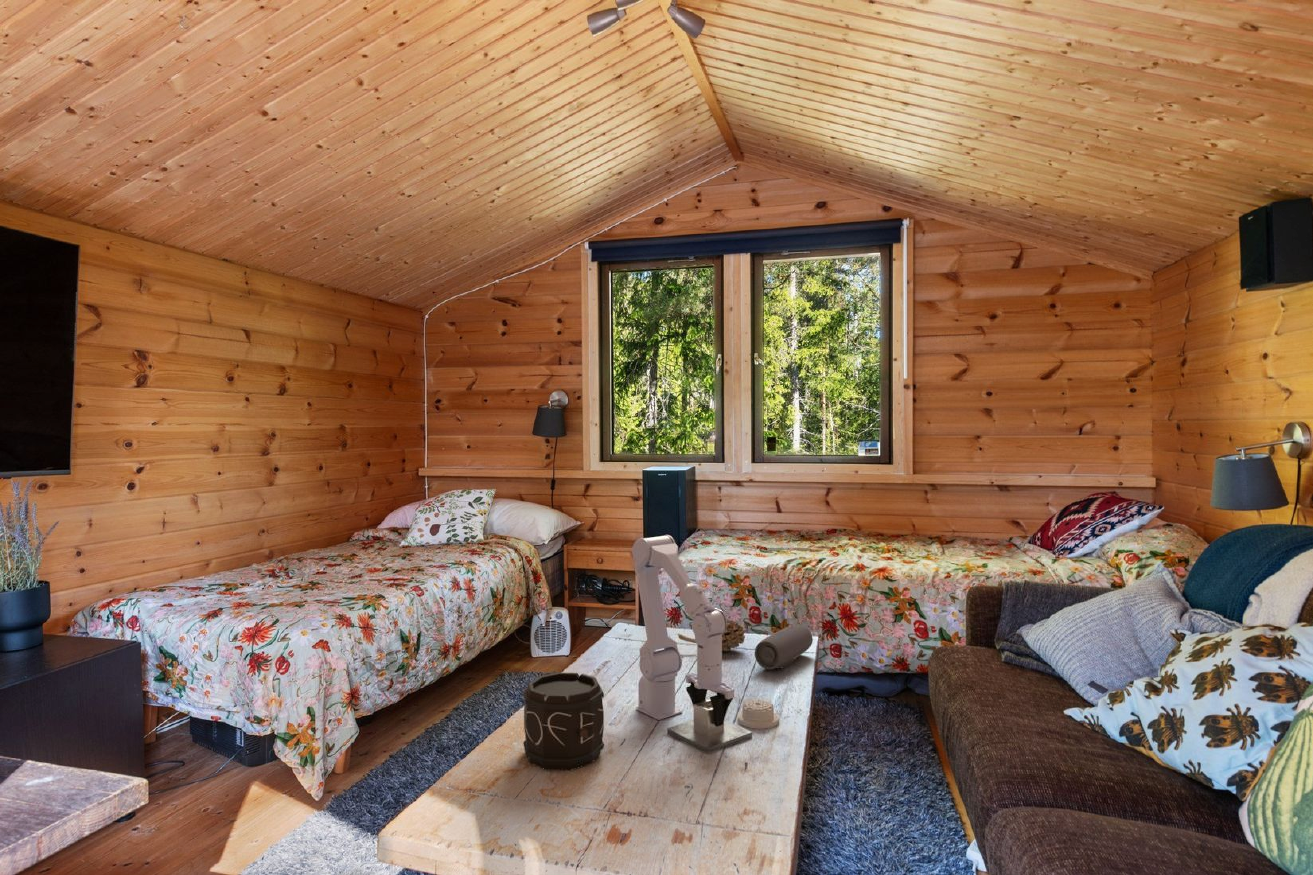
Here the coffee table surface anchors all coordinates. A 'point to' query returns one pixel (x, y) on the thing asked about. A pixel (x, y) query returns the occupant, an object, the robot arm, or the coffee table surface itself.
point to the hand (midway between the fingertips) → (709, 720)
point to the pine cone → (726, 636)
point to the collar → (705, 719)
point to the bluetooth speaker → (783, 646)
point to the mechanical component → (758, 714)
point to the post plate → (712, 742)
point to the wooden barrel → (563, 721)
